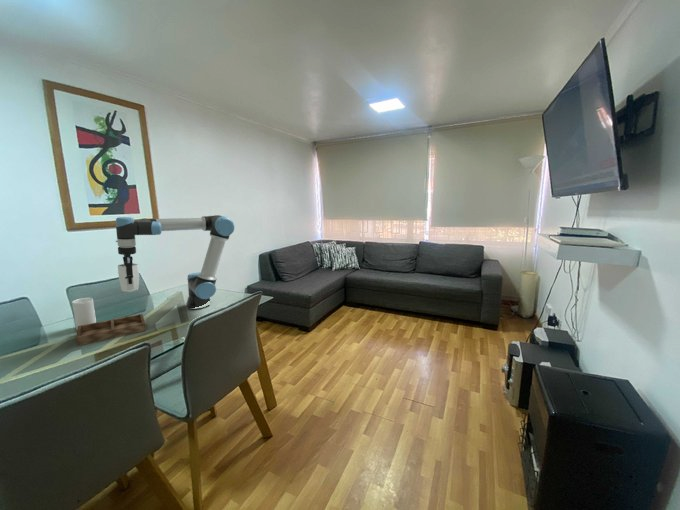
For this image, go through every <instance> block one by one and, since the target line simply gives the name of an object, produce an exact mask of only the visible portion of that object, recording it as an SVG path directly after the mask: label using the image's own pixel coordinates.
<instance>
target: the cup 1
mask: <svg viewBox="0 0 680 510" xmlns="http://www.w3.org/2000/svg"><path fill="white" fill-rule="evenodd" d="M71 303H72V304H71V305H72V309H73V310H72V312H73V316H74V322H75V329H76V330H77V328H78V326H81V325H86V324H91V323H96V322H97V319H96V312H95V304H94V299H93V297H84V298H83V297H81V298H78V299H75V300H72V301H71Z"/></svg>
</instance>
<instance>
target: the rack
mask: <svg viewBox="0 0 680 510" xmlns="http://www.w3.org/2000/svg"><path fill="white" fill-rule="evenodd" d="M146 330H147V326H146V321H145V317H144V314H143V313H139V314H133V315H129V316H127V315H126V316H124V317H118V318H113V319H112V318H111V319H107V320H101V321H96V323H91V324H86V325H81V326H78V328H77V329H76V335H75V341H76V346H77V347H80V346H83V345H87V344H92V343H97V342H100V341H106V340H110V339H113V338H119V337H123V336H127V334H128V335H131V334H136V333H140V332H145V331H146Z"/></svg>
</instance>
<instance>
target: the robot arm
mask: <svg viewBox="0 0 680 510" xmlns="http://www.w3.org/2000/svg"><path fill="white" fill-rule="evenodd" d="M115 229H116V240H115V242H116V243H117V246H118V247H117V252H118V254H119V255H122V260H123V264H124V265H125V266H126V274H127V277H125V279H126V278H127V290H131V289H134V284H133V271H132V265H133V260H134V259H133V256H132V255H135V254H136V253H137V247H136V245H137V243H136V242H137V241H136V236H158V235H159V236H160V235H161V234H162V232H169V231H170V232H173V231H194V230H196V231H197V230H200V231H201V230H202V231H203V232H209V236H210V240H209V241H210V242H209V243H208V248H207V250H206V254H205V257H204V260H203V264H202V268H201V271H200V272H192V273H189V274H188V275H187V279H186V280H187V288H188V297H187V300H186V302H185V304H186V308H187V307H188V308H187V309H189V308H195V307H199V306H202V305H204V304H206V303H207V302H208V301H210V300H211V298H212V297H213V296H215V294H216V292H217V286H216V282H217V277H216V275H217V271H218V266H219V263H220V261H221V257H222V253H223V250H224V247H225V244H226V241H228V240H230V236H231V235H232V234H233V233H234V231H235V224H234V222H233V220H231V218H229V217H227V216H223V215H219V214H218V215H216V214H215V215H208V216H207V215H205V216H204V215H203V216H201V217H189V218H188V217H186V218H183V217H181V218H179V217H178V218H175V217H174V218H143V217H142V218H140V219H139V220H135V219H134V217H131V216H130V217H129V216H119V217H116V218H115ZM129 275H130V276H129Z"/></svg>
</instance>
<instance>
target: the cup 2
mask: <svg viewBox="0 0 680 510" xmlns="http://www.w3.org/2000/svg"><path fill="white" fill-rule="evenodd" d="M132 263H133V262H132ZM139 267H140V266H139V264H138V263H133V265H132V271H133V284H134V289H131V290H127V278H126V279H125V277H127V274H126V266H125V265H124V263H121V264H118V265H117V274H118V281H119V285H120V289H121V291H122V292H125V293H133V292H136V291H138V290H139V286H140V269H139ZM129 276H130V275H129Z"/></svg>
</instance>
